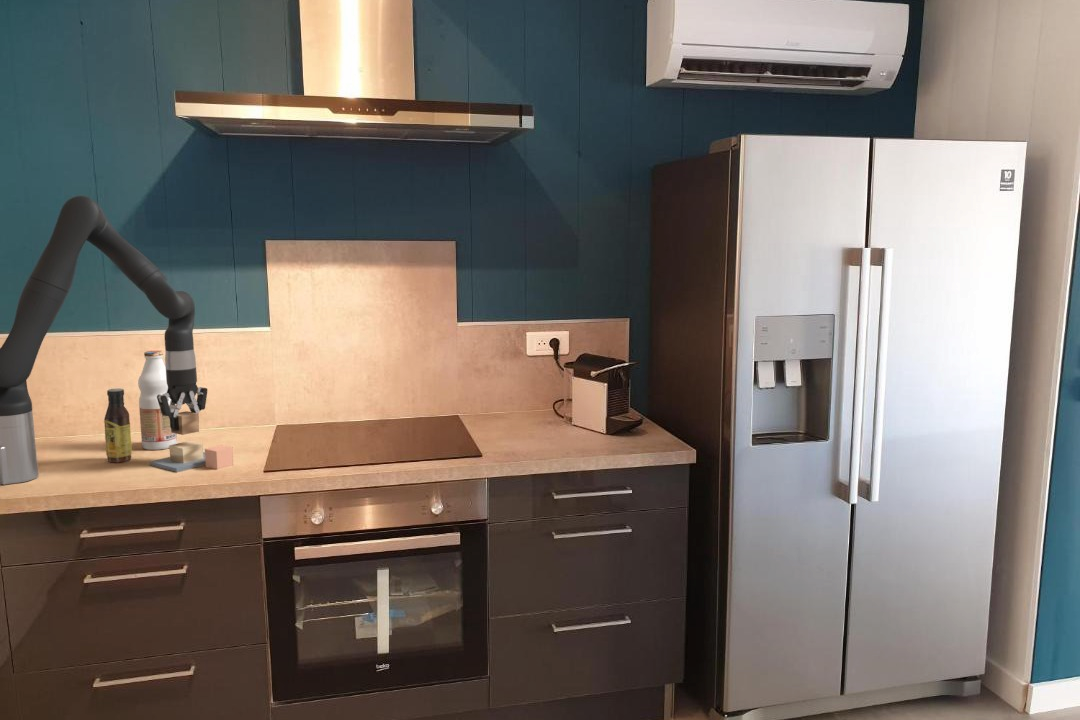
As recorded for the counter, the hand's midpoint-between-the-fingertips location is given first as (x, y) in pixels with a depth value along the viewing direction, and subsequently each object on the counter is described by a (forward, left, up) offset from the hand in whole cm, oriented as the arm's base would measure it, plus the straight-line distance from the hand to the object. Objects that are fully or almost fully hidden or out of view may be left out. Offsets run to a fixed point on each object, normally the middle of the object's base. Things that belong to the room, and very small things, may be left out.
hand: (185, 428), depth 225 cm
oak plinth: (0, 0, -9) cm, 9 cm away
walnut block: (0, 0, -1) cm, 1 cm away
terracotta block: (+3, -10, -10) cm, 14 cm away
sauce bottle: (-9, +17, -10) cm, 22 cm away
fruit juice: (+6, +22, -10) cm, 25 cm away
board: (0, 0, -9) cm, 9 cm away
